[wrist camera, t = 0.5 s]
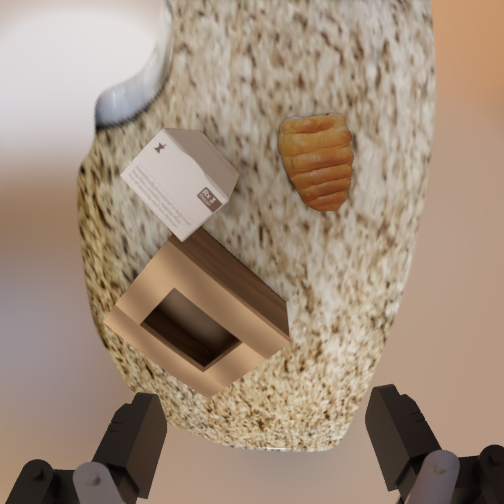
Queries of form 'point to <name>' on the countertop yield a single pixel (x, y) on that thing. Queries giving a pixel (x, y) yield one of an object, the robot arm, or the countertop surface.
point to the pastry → (318, 158)
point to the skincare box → (181, 179)
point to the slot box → (201, 314)
